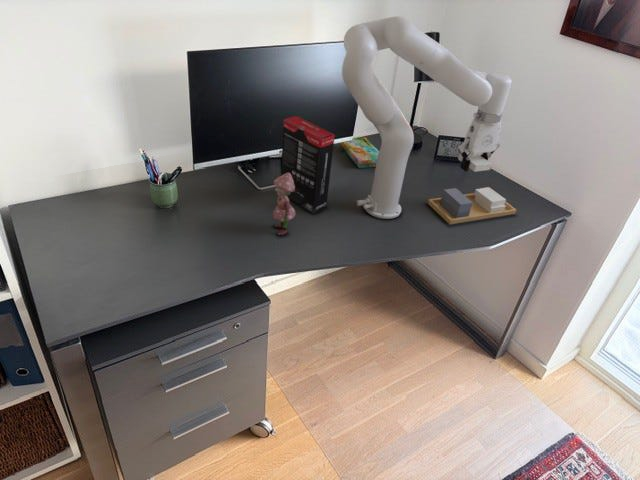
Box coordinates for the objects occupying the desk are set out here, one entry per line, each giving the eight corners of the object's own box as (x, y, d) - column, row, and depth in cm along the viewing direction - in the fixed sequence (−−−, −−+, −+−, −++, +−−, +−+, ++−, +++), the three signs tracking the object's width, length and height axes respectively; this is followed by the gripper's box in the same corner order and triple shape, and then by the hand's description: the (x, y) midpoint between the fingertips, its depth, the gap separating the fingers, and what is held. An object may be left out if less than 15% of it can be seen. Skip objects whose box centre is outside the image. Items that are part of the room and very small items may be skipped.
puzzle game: (358, 158, 188) (339, 136, 203) (356, 169, 190) (338, 147, 205) (386, 156, 191) (365, 135, 206) (384, 167, 194) (364, 145, 209)
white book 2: (490, 207, 170) (492, 202, 169) (473, 194, 177) (475, 189, 175) (504, 204, 173) (506, 199, 171) (487, 192, 179) (488, 186, 178)
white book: (489, 213, 171) (491, 208, 170) (474, 200, 178) (475, 195, 177) (503, 211, 173) (505, 205, 172) (487, 198, 180) (489, 193, 179)
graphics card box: (327, 208, 165) (337, 132, 150) (313, 215, 161) (321, 137, 145) (292, 188, 174) (297, 114, 158) (277, 194, 170) (281, 118, 154)
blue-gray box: (456, 219, 166) (458, 212, 164) (439, 204, 173) (441, 197, 171) (468, 217, 167) (470, 210, 166) (451, 202, 175) (453, 195, 173)
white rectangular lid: (474, 171, 157) (476, 165, 155) (457, 159, 163) (459, 153, 162) (489, 169, 159) (491, 163, 157) (473, 157, 165) (475, 151, 164)
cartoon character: (298, 239, 150) (303, 180, 138) (275, 241, 147) (278, 182, 136) (289, 220, 157) (293, 164, 146) (267, 222, 155) (270, 165, 143)
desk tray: (449, 226, 163) (450, 220, 162) (427, 205, 174) (428, 199, 172) (514, 215, 173) (516, 210, 172) (490, 196, 183) (492, 190, 182)
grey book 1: (458, 212, 164) (460, 204, 162) (441, 197, 171) (443, 189, 170) (470, 210, 166) (473, 202, 164) (453, 195, 173) (455, 187, 171)
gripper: (472, 122, 146) (457, 176, 156) (518, 118, 152) (500, 171, 162) (457, 112, 151) (444, 165, 162) (502, 109, 157) (486, 160, 168)
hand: (472, 167), depth 162 cm, fingers closed on white rectangular lid, 6 cm apart
